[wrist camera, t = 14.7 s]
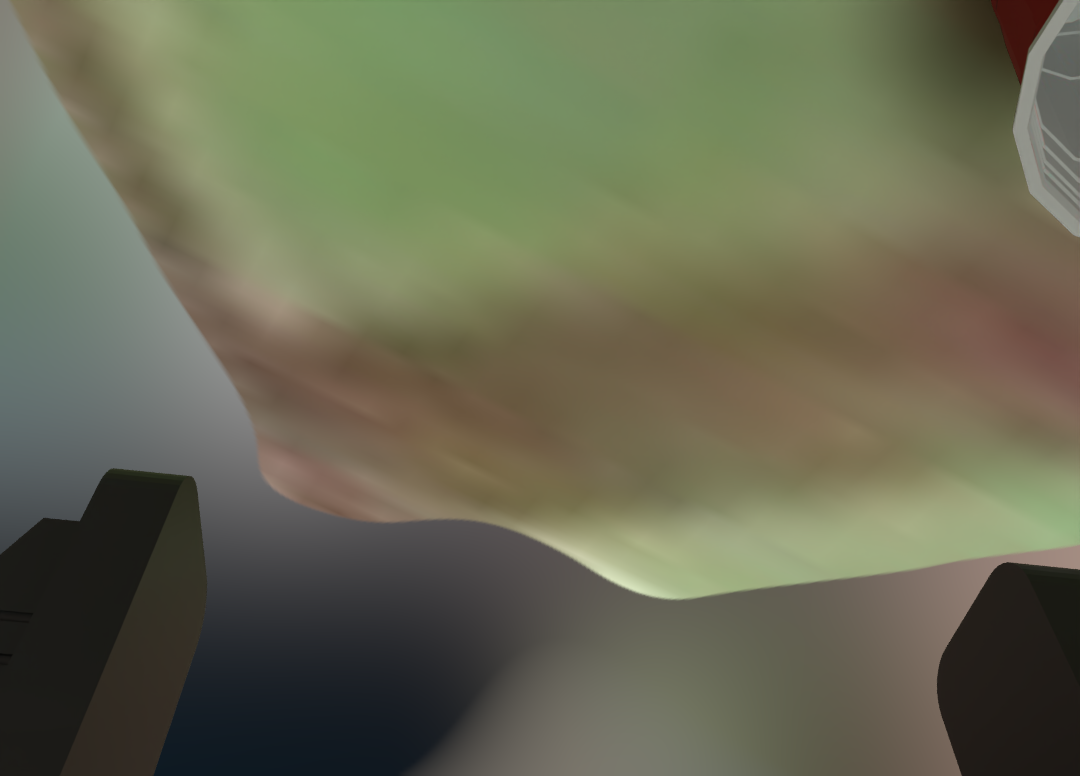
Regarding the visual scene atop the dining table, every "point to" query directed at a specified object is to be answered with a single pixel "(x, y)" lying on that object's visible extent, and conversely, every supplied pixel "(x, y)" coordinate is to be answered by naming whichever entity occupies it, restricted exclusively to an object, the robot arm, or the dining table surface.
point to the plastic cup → (1047, 99)
